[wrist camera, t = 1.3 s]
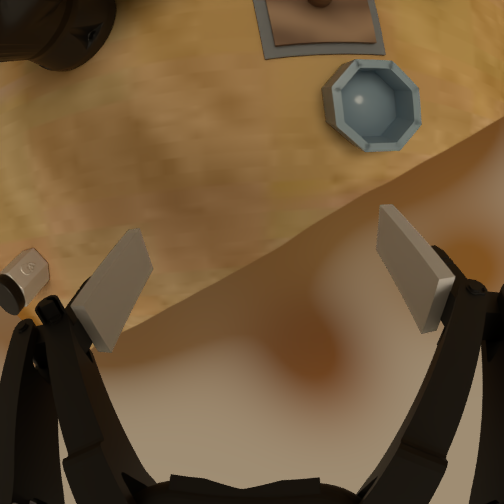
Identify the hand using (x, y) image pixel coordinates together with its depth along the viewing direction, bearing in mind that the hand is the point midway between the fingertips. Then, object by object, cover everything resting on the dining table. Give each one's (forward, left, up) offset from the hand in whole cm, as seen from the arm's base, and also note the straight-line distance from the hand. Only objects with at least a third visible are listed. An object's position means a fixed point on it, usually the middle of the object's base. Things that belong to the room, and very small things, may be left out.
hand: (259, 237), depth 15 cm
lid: (-20, +10, -24) cm, 33 cm away
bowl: (-5, +14, -25) cm, 29 cm away
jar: (+12, -50, -25) cm, 57 cm away
